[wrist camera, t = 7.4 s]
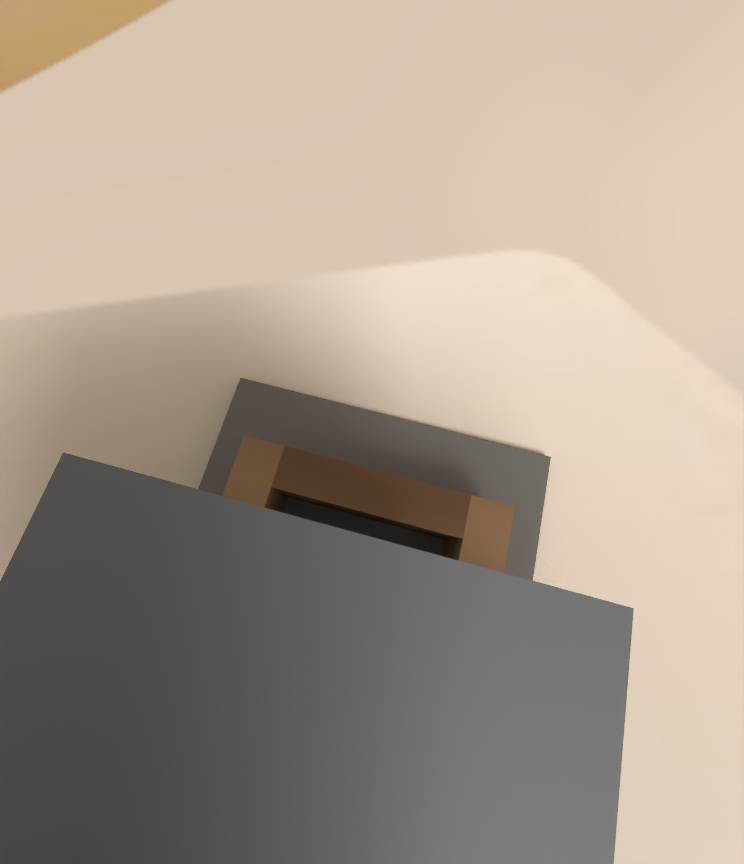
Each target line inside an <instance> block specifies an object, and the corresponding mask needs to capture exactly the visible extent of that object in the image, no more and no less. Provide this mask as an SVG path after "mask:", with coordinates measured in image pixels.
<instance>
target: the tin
mask: <svg viewBox="0 0 744 864" xmlns="http://www.w3.org/2000/svg"><path fill="white" fill-rule="evenodd" d="M632 621H633V608H630V607H626V606H623V605H619V604H615V603H612V602H608V601H604V600H601V599H597V598H593V597H590V596H586V595H582V594H579V593H575V592H571V591H568V590H564V589H560V588H557V587H553V586H549V585H546V584H542V583H539V582H535V581H531V580H528V579H524V578H520V577H517V576H513V575H509V574H506V573H502V572H498V571H495V570H491V569H487V568H484V567H480V566H476V565H473V564H469V563H465V562H462V561H458V560H454V559H451V558H447V557H443V556H440V555H436V554H432V553H429V552H425V551H421V550H418V549H414V548H410V547H407V546H403V545H399V544H396V543H392V542H388V541H385V540H381V539H377V538H374V537H370V536H366V535H363V534H359V533H356V532H352V531H348V530H345V529H341V528H337V527H334V526H330V525H326V524H323V523H319V522H315V521H312V520H308V519H304V518H301V517H297V516H293V515H290V514H286V513H282V512H279V511H275V510H271V509H268V508H264V507H260V506H257V505H253V504H249V503H246V502H242V501H238V500H235V499H231V498H227V497H224V496H220V495H216V494H213V493H209V492H205V491H202V490H198V489H194V488H191V487H187V486H183V485H180V484H176V483H172V482H169V481H165V480H162V479H158V478H154V477H151V476H147V475H143V474H140V473H136V472H132V471H129V470H125V469H121V468H118V467H114V466H110V465H107V464H103V463H99V462H96V461H92V460H88V459H85V458H81V457H77V456H74V455H70V454H66V453H63V454H62V456H61V458H60V460H59V462H58V464H57V467H56V469H55V471H54V473H53V475H52V477H51V479H50V481H49V483H48V485H47V487H46V489H45V491H44V493H43V495H42V497H41V499H40V501H39V503H38V506H37V508H36V510H35V512H34V514H33V516H32V518H31V520H30V522H29V524H28V526H27V528H26V530H25V532H24V534H23V536H22V538H21V540H20V542H19V544H18V547H17V549H16V551H15V553H14V555H13V557H12V559H11V561H10V563H9V565H8V567H7V569H6V571H5V573H4V575H3V577H2V579H1V581H0V864H613V863H614V850H615V838H616V825H617V812H618V799H619V787H620V774H621V761H622V748H623V736H624V723H625V710H626V698H627V685H628V672H629V659H630V647H631V634H632Z"/></svg>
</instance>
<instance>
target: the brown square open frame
mask: <svg viewBox="0 0 744 864" xmlns="http://www.w3.org/2000/svg"><path fill="white" fill-rule="evenodd" d="M222 496H224V497H227V498H231V499H235V500H238V501H242V502H246V503H249V504H253V505H257V506H260V507H264V508H268V509H271V510H275V511H279V512H283V509H284V506H285V503H286V500H287V497H290V498H293V499H297V500H301V501H305V502H308V503H312V504H316V505H319V506H323V507H327V508H331V509H334V510H338V511H342V512H345V513H349V514H353V515H356V516H360V517H364V518H368V519H371V520H375V521H379V522H382V523H386V524H390V525H394V526H397V527H401V528H405V529H408V530H412V531H416V532H419V533H423V534H427V535H431V536H434V537H438V538H442V539H445V540H446V541H445V546H444V551H443V555H442V556H443V557H447V558H451V559H454V560H458V561H462V562H465V563H469V564H473V565H476V566H480V567H484V568H487V569H491V570H495V571H498V572H502V573H504V568H505V562H506V556H507V550H508V544H509V538H510V532H511V526H512V520H513V514H514V508H515V506H512V505H508V504H504V503H500V502H496V501H493V500H489V499H485V498H481V497H477V496H474V495H470V494H466V493H462V492H458V491H455V490H451V489H447V488H443V487H439V486H436V485H432V484H428V483H424V482H420V481H417V480H413V479H409V478H405V477H401V476H397V475H394V474H390V473H386V472H382V471H378V470H375V469H371V468H367V467H363V466H359V465H356V464H352V463H348V462H344V461H340V460H337V459H333V458H329V457H325V456H321V455H318V454H314V453H310V452H306V451H302V450H299V449H295V448H291V447H287V446H283V445H279V444H276V443H272V442H268V441H264V440H260V439H257V438H253V437H249V436H245V435H244V437H243V440H242V442H241V445H240V448H239V451H238V453H237V456H236V459H235V462H234V465H233V467H232V470H231V473H230V476H229V478H228V481H227V484H226V487H225V489H224V492H223V495H222Z"/></svg>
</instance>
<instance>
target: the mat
mask: <svg viewBox="0 0 744 864" xmlns="http://www.w3.org/2000/svg"><path fill="white" fill-rule="evenodd" d="M244 435H245V436H249V437H253V438H257V439H260V440H264V441H268V442H272V443H276V444H279V445H283V446H287V447H291V448H295V449H299V450H302V451H306V452H310V453H314V454H318V455H321V456H325V457H329V458H333V459H337V460H340V461H344V462H348V463H352V464H356V465H359V466H363V467H367V468H371V469H375V470H378V471H382V472H386V473H390V474H394V475H397V476H401V477H405V478H409V479H413V480H417V481H420V482H424V483H428V484H432V485H436V486H439V487H443V488H447V489H451V490H455V491H458V492H462V493H466V494H470V495H474V496H477V497H481V498H485V499H489V500H493V501H496V502H500V503H504V504H508V505H512V506H515V508H514V514H513V520H512V526H511V532H510V538H509V544H508V550H507V556H506V562H505V568H504V573H506V574H509V575H513V576H517V577H520V578H524V579H528V580H531V581H533V574H534V567H535V560H536V554H537V547H538V540H539V533H540V526H541V519H542V513H543V506H544V499H545V492H546V485H547V478H548V472H549V465H550V458H551V457H549V456H545V455H541V454H537V453H533V452H529V451H525V450H521V449H517V448H513V447H510V446H506V445H502V444H498V443H494V442H490V441H486V440H482V439H478V438H474V437H470V436H466V435H462V434H459V433H455V432H451V431H447V430H443V429H439V428H435V427H431V426H427V425H423V424H419V423H415V422H411V421H407V420H404V419H400V418H396V417H392V416H388V415H384V414H380V413H376V412H372V411H368V410H364V409H360V408H356V407H353V406H349V405H345V404H341V403H337V402H333V401H329V400H325V399H321V398H317V397H313V396H309V395H305V394H301V393H298V392H294V391H290V390H286V389H282V388H278V387H274V386H270V385H266V384H262V383H258V382H254V381H250V380H247V379H243V378H240V381H239V384H238V386H237V389H236V392H235V394H234V397H233V399H232V402H231V405H230V407H229V410H228V413H227V415H226V418H225V421H224V423H223V426H222V428H221V431H220V434H219V436H218V439H217V442H216V444H215V447H214V450H213V452H212V455H211V458H210V460H209V463H208V465H207V468H206V471H205V473H204V476H203V479H202V481H201V484H200V487H199V489H198V490H202V491H205V492H209V493H213V494H216V495H220V496H222V495H223V492H224V489H225V487H226V484H227V481H228V478H229V476H230V473H231V470H232V467H233V465H234V462H235V459H236V456H237V453H238V451H239V448H240V445H241V442H242V440H243V437H244ZM282 513H286V514H290V515H293V516H297V517H301V518H304V519H308V520H312V521H315V522H319V523H323V524H326V525H330V526H334V527H337V528H341V529H345V530H348V531H352V532H356V533H359V534H363V535H366V536H370V537H374V538H377V539H381V540H385V541H388V542H392V543H396V544H399V545H403V546H407V547H410V548H414V549H418V550H421V551H425V552H429V553H432V554H436V555H440V556H442V555H443V551H444V546H445V541H446V540H445V539H442V538H438V537H434V536H431V535H427V534H423V533H419V532H416V531H412V530H408V529H405V528H401V527H397V526H394V525H390V524H386V523H382V522H379V521H375V520H371V519H368V518H364V517H360V516H356V515H353V514H349V513H345V512H342V511H338V510H334V509H331V508H327V507H323V506H319V505H316V504H312V503H308V502H305V501H301V500H297V499H293V498H290V497H287V500H286V503H285V506H284V509H283V512H282Z"/></svg>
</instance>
